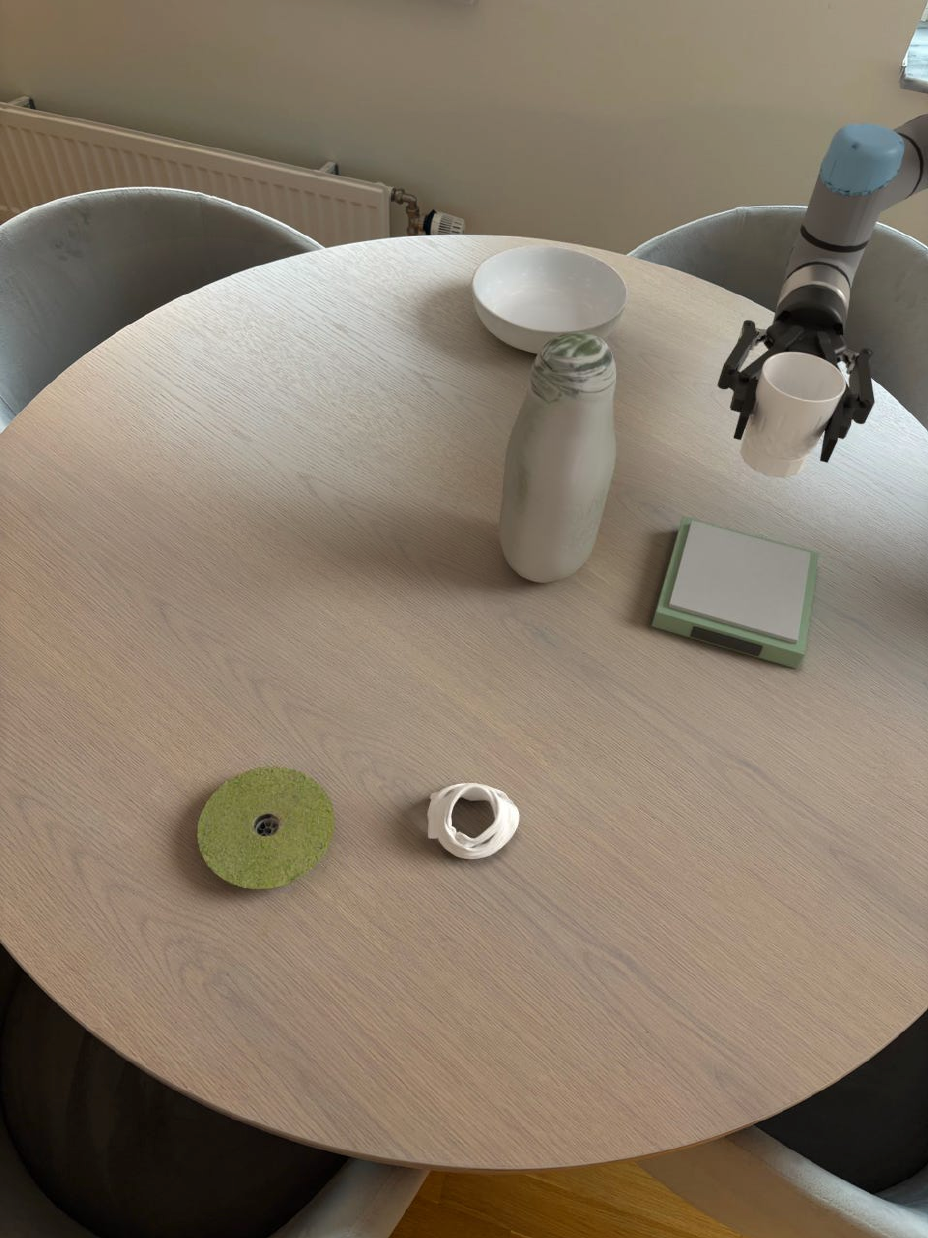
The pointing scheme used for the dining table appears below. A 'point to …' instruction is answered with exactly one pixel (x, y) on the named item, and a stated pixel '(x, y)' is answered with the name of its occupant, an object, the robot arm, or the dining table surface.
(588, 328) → the serving bowl
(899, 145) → the robot arm
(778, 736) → the dining table surface
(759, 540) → the kitchen scale
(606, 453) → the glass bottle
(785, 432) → the white cup
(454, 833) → the white rolled strap
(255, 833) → the green abrasive disc
